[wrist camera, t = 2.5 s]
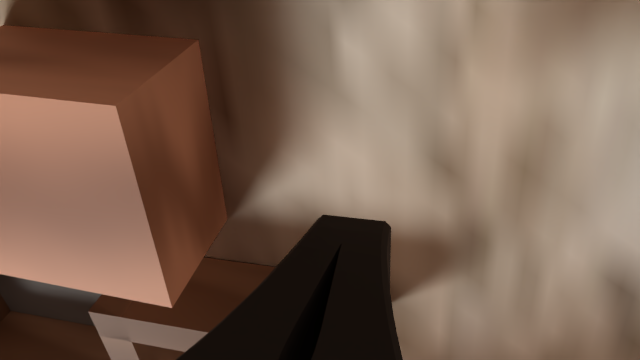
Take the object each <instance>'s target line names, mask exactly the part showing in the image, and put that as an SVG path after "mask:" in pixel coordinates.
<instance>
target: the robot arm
mask: <svg viewBox="0 0 640 360" xmlns="http://www.w3.org/2000/svg"><path fill="white" fill-rule="evenodd" d="M390 250H391V227H390V226H389V225H388V224H387V223H386V222H385V221H376V220H367V219H357V218H348V217H339V216H330V215H322V216H321V217H320V218H318V220H317V221H316V222H315V223H314V224H313V226H312V227H311V228H310V229H309V230H308V232H307V233H306V234H305V235H304V236H303V237H302V239H301V240H300V241H299V242H298V243H297V244H296V246H295V247H294V248H293V249H292V250H291V251H290V252H289V253H288V255H287V256H286V257H285V258H284V259H283V260H282V261H281V262H280V263H279V264H278V265H277V266H276V268H275V269H274V270H273V271H272V272H271V273H270V274H269V275H268V276H267V277H266V278H265V279H264V280H263V281H262V282H261V283H260V284H259V285H258V286H257V287H256V288H255V289H254V290H253V291H252V292H251V293H250V294H249V295H248V296H247V297H246V298H245V299H244V300H243V301H242V302H241V303H240V304H239V305H238V306H237V307H236V308H235V309H234V310H233V311H231V312H230V313H229V314H228V315H227V316H226V317H225V318H224V319H223V320H222V321H221V322H220V323H219V324H217V325H216V326H215V327H214V328H213V329H212V330H211V331H209V332H208V333H207V334H206V335H205V336H204V337H203V338H201V339H200V340H199V341H198V342H197V343H195V344H194V345H193V346H192V347H190V348H189V349H188V350H187V351H186V352H184V353H183V354H182V355H181V356H179V357H178V358H177V359H176V360H403V359H402V355H401V350H400V346H399V341H398V337H397V332H396V327H395V322H394V316H393V310H392V303H391V296H390Z"/></svg>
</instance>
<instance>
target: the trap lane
mask: <svg viewBox="0 0 640 360" xmlns="http://www.w3.org/2000/svg"><path fill="white" fill-rule="evenodd" d="M275 268H276V267H271V266H264V265H257V264H249V263H242V262H235V261H227V260H220V259H213V258H205V257H204V258H203V259H202V261H201V262H200V264H199V266H198V267H197V269H196V270H195V272H194V274H193V275H192V277H191V278H190V280H189V282H188V283H187V285H186V286H185V288H184V290H183V291H182V293H181V295H180V296H179V298H178V299H177V301H176V303H175V304H174V306H173V307H172V308H169V307H164V306H159V305H154V304H149V303H144V302H139V301H134V300H129V299H124V298H119V297H114V296H109V295H103V294H98V293H93V292H88V291H83V290H78V289H73V288H68V287H63V286H58V285H53V284H48V283H43V282H38V281H33V280H27V279H22V278H17V277H12V276H7V275H2V274H0V360H176V359H177V358H178V357H179V356H181V355H182V354H183V353H184V352H186V351H187V350H188V349H189V348H190V347H192V346H193V345H194V344H195V343H197V342H198V341H199V340H200V339H201V338H203V337H204V336H205V335H206V334H207V333H208V332H209V331H211V330H212V329H213V328H214V327H215V326H216V325H217V324H219V323H220V322H221V321H222V320H223V319H224V318H225V317H226V316H227V315H228V314H229V313H230V312H231V311H233V310H234V309H235V308H236V307H237V306H238V305H239V304H240V303H241V302H242V301H243V300H244V299H245V298H246V297H247V296H248V295H249V294H250V293H251V292H252V291H253V290H254V289H255V288H256V287H257V286H258V285H259V284H260V283H261V282H262V281H263V280H264V279H265V278H266V277H267V276H268V275H269V274H270V273H271V272H272V271H273V270H274V269H275Z"/></svg>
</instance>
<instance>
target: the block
mask: <svg viewBox="0 0 640 360" xmlns="http://www.w3.org/2000/svg"><path fill="white" fill-rule="evenodd" d="M226 221H227V213H226V207H225V201H224V194H223V188H222V182H221V176H220V170H219V164H218V157H217V151H216V145H215V139H214V133H213V127H212V120H211V114H210V108H209V102H208V96H207V90H206V83H205V77H204V71H203V65H202V59H201V53H200V46H199V40H196V39H183V38H170V37H156V36H143V35H130V34H116V33H103V32H89V31H76V30H63V29H49V28H36V27H22V26H9V25H3V26H0V274H2V275H7V276H12V277H17V278H22V279H27V280H33V281H38V282H43V283H48V284H53V285H58V286H63V287H68V288H73V289H78V290H83V291H88V292H93V293H98V294H103V295H109V296H114V297H119V298H124V299H129V300H134V301H139V302H144V303H149V304H154V305H159V306H164V307H169V308H172V307H173V306H174V304H175V303H176V301H177V299H178V298H179V296H180V295H181V293H182V291H183V290H184V288H185V286H186V285H187V283H188V282H189V280H190V278H191V277H192V275H193V274H194V272H195V270H196V269H197V267H198V266H199V264H200V262H201V261H202V259H203V258H204V256H205V254H206V253H207V251H208V249H209V248H210V246H211V245H212V243H213V241H214V240H215V238H216V237H217V235H218V233H219V232H220V230H221V229H222V227H223V225H224V224H225V222H226Z"/></svg>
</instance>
